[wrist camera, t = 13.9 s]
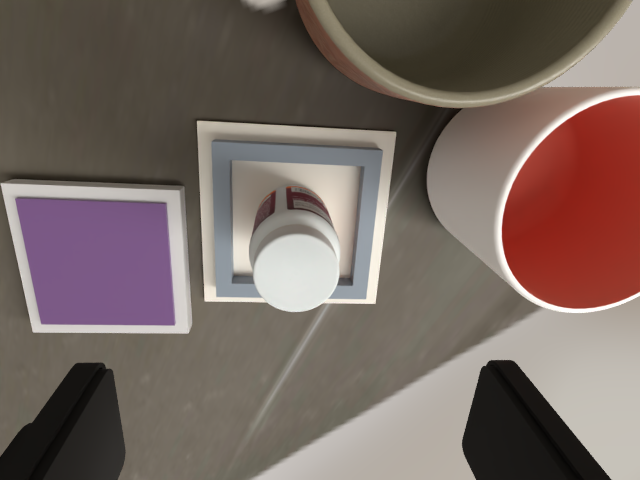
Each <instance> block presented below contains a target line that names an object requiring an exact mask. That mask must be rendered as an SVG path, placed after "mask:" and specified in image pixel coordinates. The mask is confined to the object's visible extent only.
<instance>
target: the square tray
mask: <svg viewBox="0 0 640 480" xmlns="http://www.w3.org/2000/svg"><path fill="white" fill-rule="evenodd" d="M197 135H198V158H199V181H200V204H201V227H202V250H203V273H204V296H205V301H218V302H266V301H265V300H264V299H263V298H262V297H261V296H260V294H259V293H258V291H257V289H256V287H255V284H254V280H253V270H252V267H251V264H250V260H249V244H250V240H251V237H252V232H253V227H254V222H255V217H256V213H257V210H258V207H259V205H260V203H261V201H262V200H263V199H264V198H265V196H266V195H268V194H269V193H270V192H271V191H273V190H274V189H277V188H279V187H282V186H287V185H299V186H303V187H306V188H308V189H310V190H312V191H313V192H315V193H316V194H317V195H318V196H319V197H320V198H321V199H322V200H323V202H324V203H325V205H326V208H327V210H328V212H329V215H330V218H331V220H332V223H333V226H334V229H335V232H336V234H337V236H338V238H339V243H340V261H339V279H338V283H337V286H336V288H335V290H334V291H333V293H332V294H331V296H330V297H329V298H328V299H327V300H326V301H325V302H323V303H359V304H375V302H376V294H377V285H378V277H379V269H380V261H381V253H382V245H383V237H384V229H385V221H386V213H387V205H388V197H389V189H390V180H391V172H392V164H393V156H394V148H395V140H396V132H393V131H375V130H357V129H340V128H322V127H304V126H287V125H269V124H251V123H234V122H216V121H197Z"/></svg>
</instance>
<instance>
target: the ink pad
mask: <svg viewBox="0 0 640 480" xmlns="http://www.w3.org/2000/svg"><path fill="white" fill-rule="evenodd" d="M1 188H2V192H3V197H4V201H5V206H6V211H7V215H8V220H9V224H10V229H11V234H12V238H13V243H14V247H15V252H16V256H17V261H18V266H19V270H20V275H21V279H22V284H23V289H24V293H25V298H26V302H27V307H28V311H29V316H30V321H31V325H32V330H33V332H57V333H189V331H190V328H191V326H192V311H191V293H190V276H189V258H188V241H187V223H186V206H185V188H184V186H174V185H150V184H126V183H101V182H77V181H53V180H28V179H12V180H9V181H6V182H3V183H1Z"/></svg>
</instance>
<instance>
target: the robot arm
mask: <svg viewBox="0 0 640 480" xmlns="http://www.w3.org/2000/svg"><path fill="white" fill-rule="evenodd" d="M462 448H463V452H464V455H465V457H466V459H467V462H468V464H469V466H470V468H471V470H472V472H473V474H474V476H475V478H476V480H611V479H610V477H609V476H608V475H607V474H606V473H605V471H604V470H603V469H602V468H601V466H600V465H599V464H598V463H597V462H596V461H595V459H594V458H593V457H592V455H590V453H589V452H588V451H587V449H586V448H585V447H584V446H583V445H582V443H581V442H580V441H579V440H578V439H577V437H576V436H575V435H574V433H573V432H572V431H571V430H570V429H569V427H568V426H567V425H566V424H565V422H564V421H563V420H562V419H561V418H560V416H559V415H558V414H557V413H556V411H555V410H554V409H553V408H552V407H551V406H550V404H549V403H548V402H547V400H546V399H545V398H544V397H543V395H542V394H541V393H540V392H539V391H538V389H537V388H536V387H535V386H534V384H533V383H532V382H531V381H530V380H529V378H528V377H527V376H526V375H525V373H524V372H523V371H522V370H521V369H520V367H519V366H518V365H517V364H516V363H515V362H514V361H511V360H491V361H489V362H488V363H487V365H486V366H483V367H482V369H481V371H480V375H479V379H478V383H477V387H476V390H475V395H474V398H473V402H472V405H471V409H470V413H469V417H468V421H467V424H466V429H465V432H464V436H463V440H462ZM124 460H125V444H124V438H123V432H122V425H121V419H120V413H119V406H118V400H117V394H116V387H115V381H114V375H113V371H112V369H106V367H105V365H104V363H76V364H75V365H74V366H73V367H72V368H71V370H70V371H69V372H68V374H67V375H66V377H65V378H64V379H63V381H62V382H61V384H60V385H59V386H58V388H57V389H56V391H55V392H54V393H53V395H52V396H51V397H50V399H49V400H48V402H47V403H46V404H45V406H44V407H43V409H42V410H41V411H40V413H39V414H38V416H37V417H36V418H35V420H34V421H33V422H32V423H29V424H27V425H26V426H24V427H23V428H22V429H21V430H20V431H19V432H18V434H17V435H16V436H15V438H14V439H13V440H12V442H11V443H10V444H9V446H8V447H7V449H6V450H5V451H4V453H3V454H2V455H1V457H0V480H118V477H119V475H120V472H121V470H122V467H123V464H124Z"/></svg>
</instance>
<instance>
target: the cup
mask: <svg viewBox="0 0 640 480" xmlns="http://www.w3.org/2000/svg"><path fill="white" fill-rule="evenodd" d="M427 191H428V196H429V200H430V203H431V206H432V209H433V211H434V213H435V215H436V217H437V218H438V220H439V221H440V223H441V224H442V225H443V226H444V227H445V229H446V230H448V231H449V232H450V233H451V234H452V235H453V236H454V237H455V238H457V239H458V240H459V241H460V242H461V243H462V244H463V245H465V246H466V247H467V248H468V249H469V250H470V251H471V252H473V253H474V254H475V255H476V256H477V257H478V258H479V259H481V260H482V261H483V262H484V263H485V264H486V265H487V266H489V267H490V268H491V269H492V270H493V271H494V272H495V273H497V274H498V275H499V276H500V277H501V278H502V279H503V280H505V281H506V282H507V283H508V284H509V285H510V286H511V287H513V288H514V289H515V290H516V291H517V292H518V293H519V294H521V295H522V296H523V297H525V298H526V299H528V300H529V301H531V302H533V303H535V304H537V305H539V306H542V307H544V308H547V309H551V310H554V311H560V312H568V313H583V312H593V311H599V310H603V309H608V308H611V307H614V306H617V305H620V304H623V303H625V302H627V301H630V300H632V299H634V298H636V297H638V296H640V87H540V88H538V89H536V90H534V91H532V92H530V93H528V94H525V95H523V96H520V97H517V98H515V99H512V100H509V101H505V102H501V103H497V104H494V105H488V106H481V107H473V108H463V109H462V110H461V111H460V112H458V113H457V114H456V115H455V116H454V117H453V118H452V119H451V121H450V122H449V123H448V124H447V126H446V127H445V128H444V129H443V131H442V133H441V134H440V136H439V137H438V139H437V141H436V143H435V145H434V148H433V150H432V153H431V156H430V160H429V164H428V170H427Z"/></svg>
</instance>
